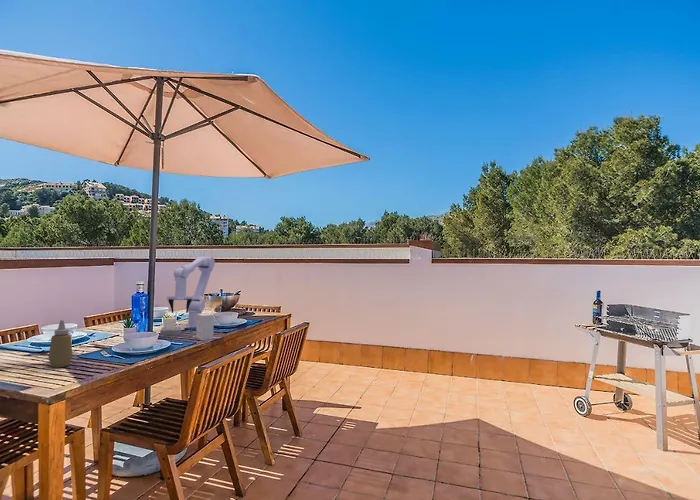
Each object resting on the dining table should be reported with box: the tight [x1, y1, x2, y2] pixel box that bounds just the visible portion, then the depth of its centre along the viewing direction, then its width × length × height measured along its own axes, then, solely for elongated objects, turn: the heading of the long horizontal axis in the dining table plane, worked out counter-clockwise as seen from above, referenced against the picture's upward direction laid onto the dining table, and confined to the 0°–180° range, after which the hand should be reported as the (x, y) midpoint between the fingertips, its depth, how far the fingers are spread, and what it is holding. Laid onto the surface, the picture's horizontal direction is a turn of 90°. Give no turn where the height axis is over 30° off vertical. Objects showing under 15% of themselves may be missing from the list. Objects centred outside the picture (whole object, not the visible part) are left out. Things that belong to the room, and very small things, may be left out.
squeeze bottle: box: [48, 319, 73, 369], centre depth 178 cm, size 8×8×18 cm
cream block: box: [165, 316, 177, 330], centre depth 251 cm, size 4×4×6 cm
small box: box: [195, 312, 215, 341], centre depth 240 cm, size 8×6×13 cm
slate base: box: [159, 326, 182, 336], centre depth 251 cm, size 10×10×2 cm
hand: (179, 312), depth 258 cm, fingers open, 7 cm apart
